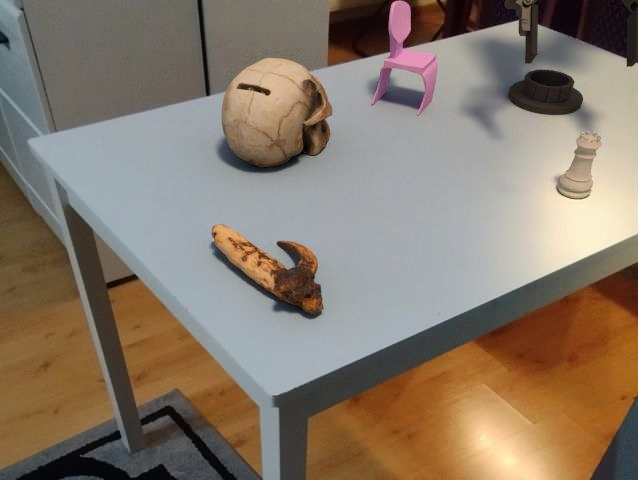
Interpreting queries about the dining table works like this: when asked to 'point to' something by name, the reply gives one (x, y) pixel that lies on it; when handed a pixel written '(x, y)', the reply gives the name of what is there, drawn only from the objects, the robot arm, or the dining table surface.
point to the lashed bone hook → (274, 268)
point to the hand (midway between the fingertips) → (582, 60)
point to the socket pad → (544, 106)
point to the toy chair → (406, 55)
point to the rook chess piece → (580, 167)
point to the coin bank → (275, 113)
